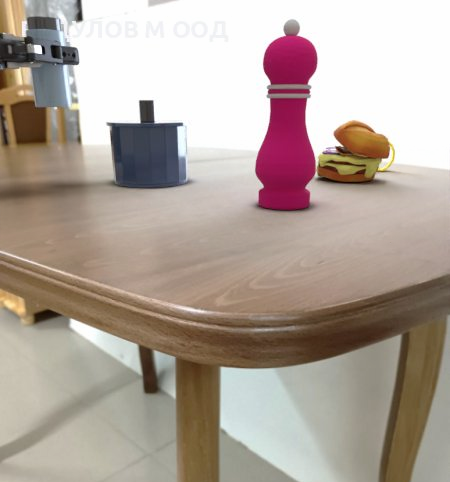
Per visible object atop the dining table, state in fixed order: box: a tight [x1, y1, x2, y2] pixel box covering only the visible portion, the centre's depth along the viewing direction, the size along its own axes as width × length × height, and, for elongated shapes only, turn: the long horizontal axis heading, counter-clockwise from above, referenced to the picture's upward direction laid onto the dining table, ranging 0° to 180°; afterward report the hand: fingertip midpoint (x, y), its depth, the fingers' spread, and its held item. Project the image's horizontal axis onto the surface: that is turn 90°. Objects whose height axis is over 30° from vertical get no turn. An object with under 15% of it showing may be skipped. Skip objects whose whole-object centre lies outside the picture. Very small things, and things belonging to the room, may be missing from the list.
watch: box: [376, 136, 396, 172], centre depth 89 cm, size 6×3×6 cm, turn 77°
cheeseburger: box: [316, 119, 391, 183], centre depth 78 cm, size 10×11×10 cm
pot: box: [108, 125, 189, 189], centre depth 76 cm, size 11×11×8 cm
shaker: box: [25, 15, 73, 108], centre depth 67 cm, size 5×5×11 cm
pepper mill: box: [254, 18, 319, 211], centre depth 56 cm, size 7×7×20 cm
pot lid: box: [105, 99, 190, 127], centre depth 73 cm, size 12×12×4 cm
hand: (63, 57), depth 69 cm, fingers closed on shaker, 5 cm apart
